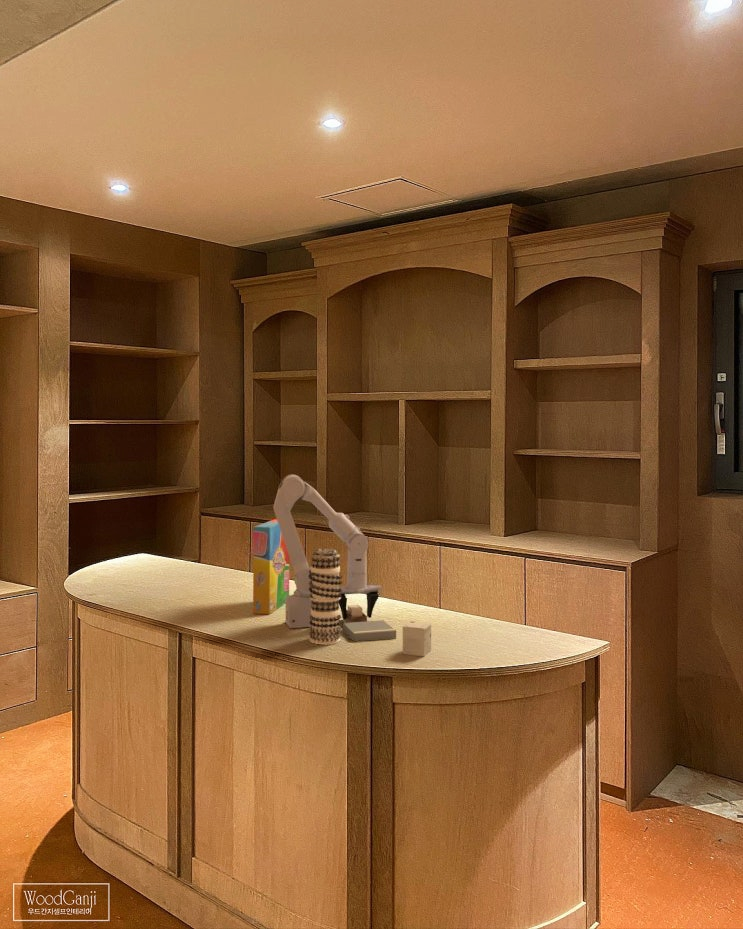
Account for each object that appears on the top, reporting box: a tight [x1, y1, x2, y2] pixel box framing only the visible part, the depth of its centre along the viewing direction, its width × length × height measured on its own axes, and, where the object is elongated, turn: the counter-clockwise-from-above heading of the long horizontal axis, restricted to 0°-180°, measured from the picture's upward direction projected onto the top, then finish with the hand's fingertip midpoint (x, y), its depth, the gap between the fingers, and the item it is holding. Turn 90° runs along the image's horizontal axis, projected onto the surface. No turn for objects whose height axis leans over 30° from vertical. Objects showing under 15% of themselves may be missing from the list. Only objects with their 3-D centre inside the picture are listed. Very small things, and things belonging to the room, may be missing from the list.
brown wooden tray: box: [342, 609, 368, 623], centre depth 239 cm, size 5×9×3 cm, turn 16°
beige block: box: [347, 604, 363, 617], centre depth 239 cm, size 3×5×3 cm, turn 16°
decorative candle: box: [308, 548, 343, 646], centre depth 219 cm, size 9×9×25 cm
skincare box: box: [402, 620, 432, 657], centre depth 210 cm, size 6×6×7 cm
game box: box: [252, 518, 290, 615], centre depth 257 cm, size 21×6×27 cm, turn 168°
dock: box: [342, 619, 397, 642], centre depth 227 cm, size 12×12×2 cm
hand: (356, 617), depth 239 cm, fingers open, 7 cm apart
